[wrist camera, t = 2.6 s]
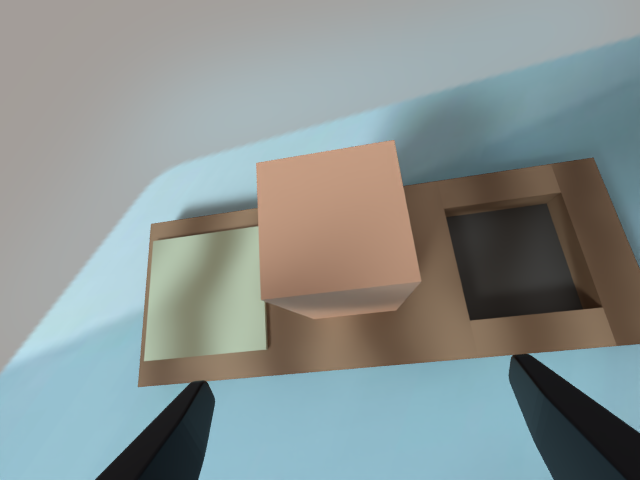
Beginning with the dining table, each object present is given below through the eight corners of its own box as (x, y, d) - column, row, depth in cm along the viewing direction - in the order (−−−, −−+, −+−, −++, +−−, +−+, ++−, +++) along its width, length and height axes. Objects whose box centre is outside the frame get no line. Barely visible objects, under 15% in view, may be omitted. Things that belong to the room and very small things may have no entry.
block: (383, 231, 20) (394, 139, 11) (396, 310, 19) (421, 281, 10) (307, 241, 21) (256, 162, 12) (313, 319, 20) (260, 299, 10)
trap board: (574, 173, 22) (596, 154, 20) (638, 341, 18) (674, 341, 16) (167, 232, 25) (148, 222, 23) (158, 383, 22) (134, 387, 20)
